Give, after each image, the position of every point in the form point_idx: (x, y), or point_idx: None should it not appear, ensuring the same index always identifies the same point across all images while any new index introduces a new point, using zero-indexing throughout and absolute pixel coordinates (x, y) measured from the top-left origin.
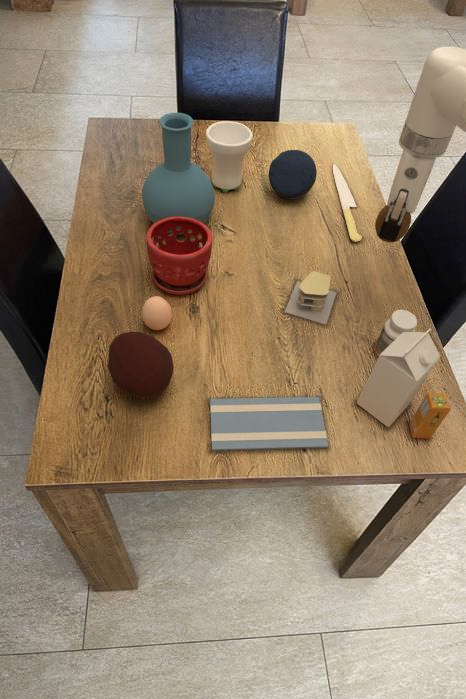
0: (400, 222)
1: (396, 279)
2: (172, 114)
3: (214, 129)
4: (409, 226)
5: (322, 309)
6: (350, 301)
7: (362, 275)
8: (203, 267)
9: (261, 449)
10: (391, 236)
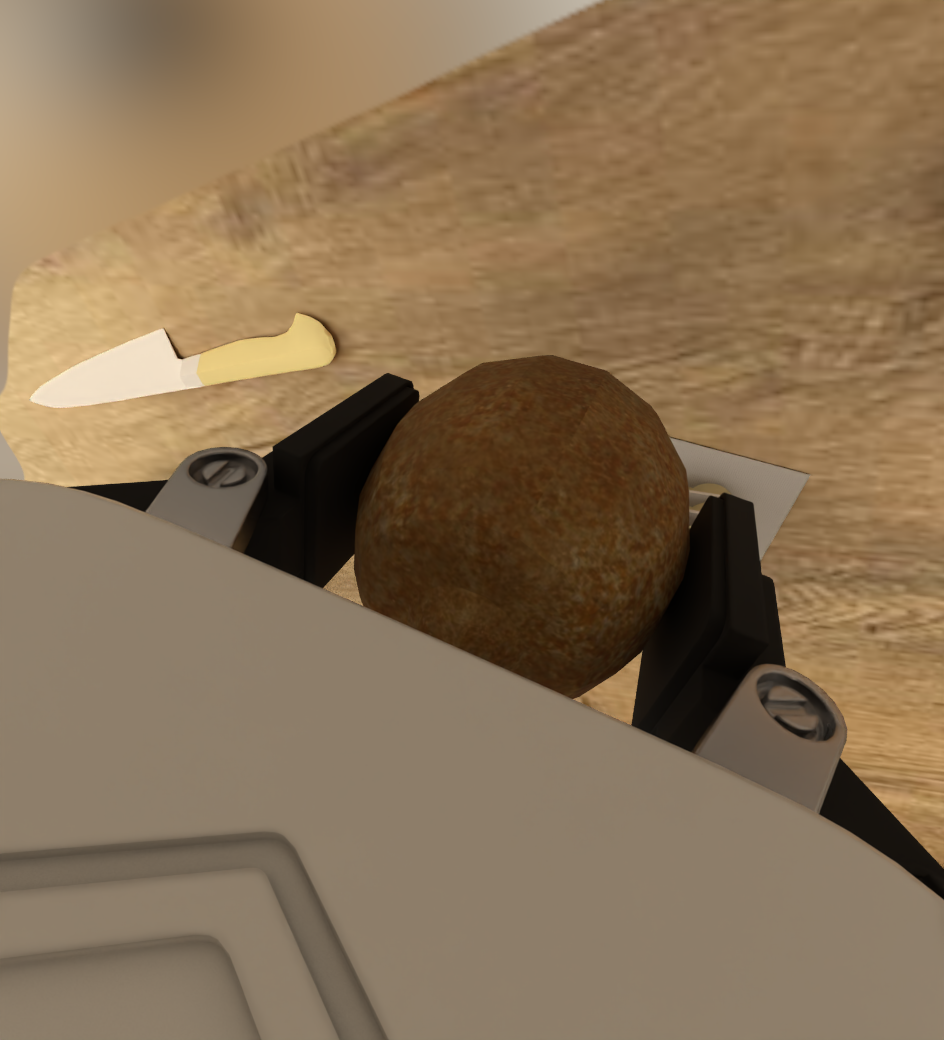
0: (837, 750)
1: (490, 140)
2: None
3: None
4: (593, 402)
5: (720, 481)
6: (664, 370)
7: (501, 313)
8: None
9: None
10: (767, 591)
